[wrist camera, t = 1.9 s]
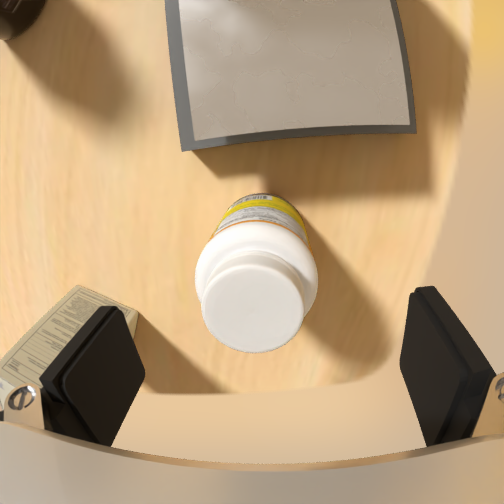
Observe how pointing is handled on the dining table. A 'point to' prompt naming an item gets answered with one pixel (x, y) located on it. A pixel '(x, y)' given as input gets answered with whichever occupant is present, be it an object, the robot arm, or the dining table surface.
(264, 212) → the supplement bottle
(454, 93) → the dining table surface
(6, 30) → the supplement bottle
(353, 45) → the scale pan
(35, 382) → the skincare box
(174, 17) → the scale base
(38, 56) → the dining table surface
